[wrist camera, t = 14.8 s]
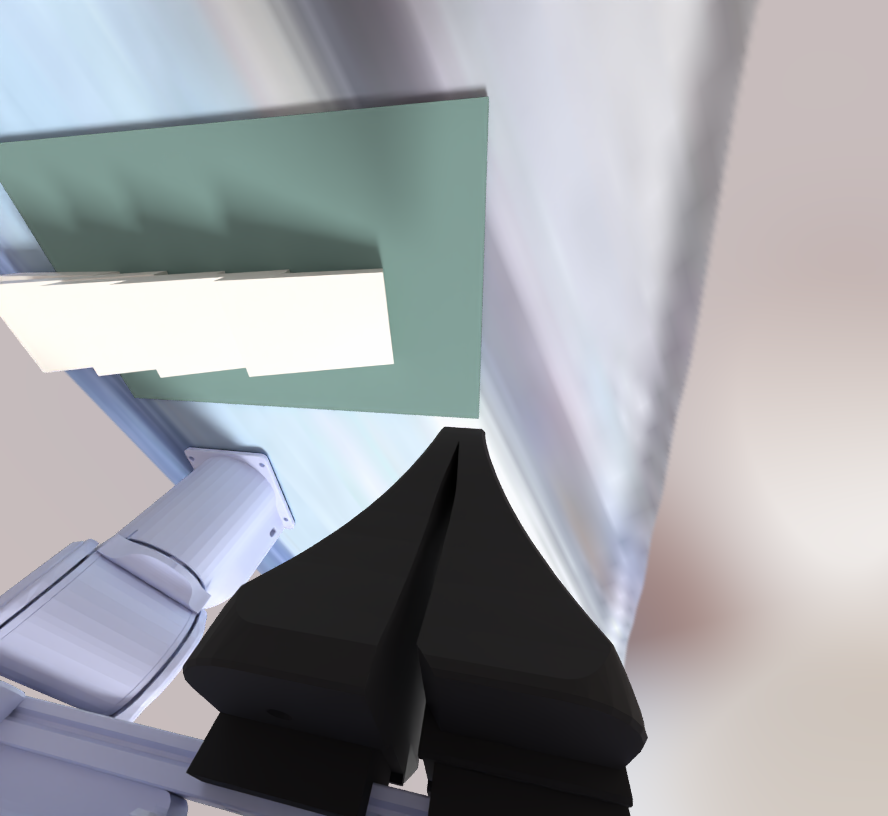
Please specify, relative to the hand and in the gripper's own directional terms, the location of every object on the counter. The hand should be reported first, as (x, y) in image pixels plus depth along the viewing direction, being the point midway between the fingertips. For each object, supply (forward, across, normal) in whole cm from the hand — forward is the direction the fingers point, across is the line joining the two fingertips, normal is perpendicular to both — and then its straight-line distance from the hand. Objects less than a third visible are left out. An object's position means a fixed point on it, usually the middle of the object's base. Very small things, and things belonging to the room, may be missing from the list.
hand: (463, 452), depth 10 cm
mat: (+10, +14, -3) cm, 18 cm away
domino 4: (+9, +5, -2) cm, 11 cm away
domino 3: (+9, +11, -2) cm, 14 cm away
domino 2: (+9, +15, -2) cm, 18 cm away
